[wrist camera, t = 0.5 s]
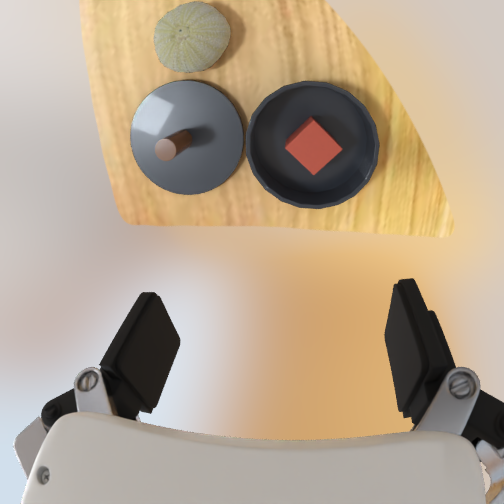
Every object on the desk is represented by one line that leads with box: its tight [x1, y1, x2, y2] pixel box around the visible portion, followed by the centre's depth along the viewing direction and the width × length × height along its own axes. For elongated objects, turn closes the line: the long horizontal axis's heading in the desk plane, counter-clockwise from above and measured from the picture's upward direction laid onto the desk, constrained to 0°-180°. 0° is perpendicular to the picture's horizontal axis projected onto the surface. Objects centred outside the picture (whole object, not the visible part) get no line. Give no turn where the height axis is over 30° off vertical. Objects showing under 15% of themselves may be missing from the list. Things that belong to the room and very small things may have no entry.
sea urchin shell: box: [154, 1, 231, 73], centre depth 25 cm, size 9×8×8 cm
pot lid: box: [130, 80, 244, 195], centre depth 32 cm, size 15×15×7 cm
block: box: [285, 116, 342, 175], centre depth 30 cm, size 4×4×4 cm
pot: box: [246, 81, 379, 209], centre depth 31 cm, size 15×15×4 cm
